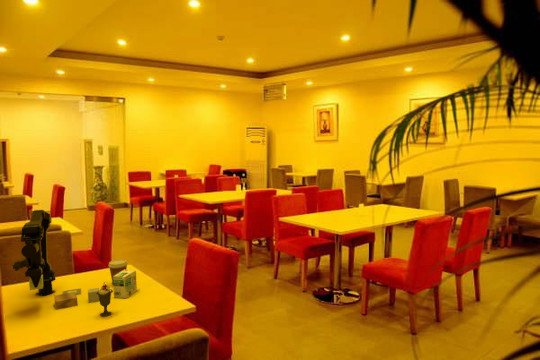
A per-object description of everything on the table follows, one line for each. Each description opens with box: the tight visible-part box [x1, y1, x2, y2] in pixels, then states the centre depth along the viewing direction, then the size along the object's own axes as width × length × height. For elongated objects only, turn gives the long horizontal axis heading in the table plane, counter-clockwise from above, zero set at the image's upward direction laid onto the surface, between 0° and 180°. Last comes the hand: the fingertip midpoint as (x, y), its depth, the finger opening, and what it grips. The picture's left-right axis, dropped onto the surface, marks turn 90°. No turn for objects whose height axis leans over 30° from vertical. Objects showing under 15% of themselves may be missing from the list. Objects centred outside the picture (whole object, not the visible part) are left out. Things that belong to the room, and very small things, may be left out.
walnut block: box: [53, 292, 78, 310], centre depth 192 cm, size 9×9×4 cm
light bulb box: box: [112, 269, 138, 299], centre depth 203 cm, size 11×7×11 cm, turn 168°
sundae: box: [96, 282, 114, 318], centre depth 179 cm, size 7×7×15 cm
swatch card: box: [62, 288, 82, 296], centre depth 206 cm, size 8×8×1 cm
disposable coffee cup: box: [108, 259, 129, 284], centre depth 217 cm, size 10×10×12 cm
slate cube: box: [87, 287, 100, 304], centre depth 196 cm, size 5×5×5 cm
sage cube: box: [28, 275, 43, 291], centre depth 186 cm, size 5×5×5 cm
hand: (36, 285), depth 186 cm, fingers closed on sage cube, 5 cm apart
